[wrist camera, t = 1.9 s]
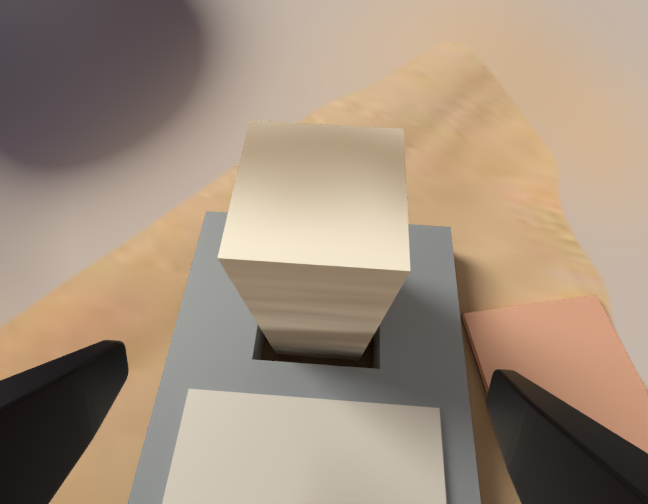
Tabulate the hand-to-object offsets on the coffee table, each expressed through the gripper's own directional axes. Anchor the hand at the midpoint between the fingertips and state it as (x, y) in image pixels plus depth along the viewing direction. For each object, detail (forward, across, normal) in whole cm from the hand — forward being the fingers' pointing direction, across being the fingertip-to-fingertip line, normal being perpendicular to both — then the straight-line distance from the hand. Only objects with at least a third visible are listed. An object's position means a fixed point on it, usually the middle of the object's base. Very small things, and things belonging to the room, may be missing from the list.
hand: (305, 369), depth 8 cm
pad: (+9, -13, +6) cm, 17 cm away
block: (+10, 0, +4) cm, 11 cm away
